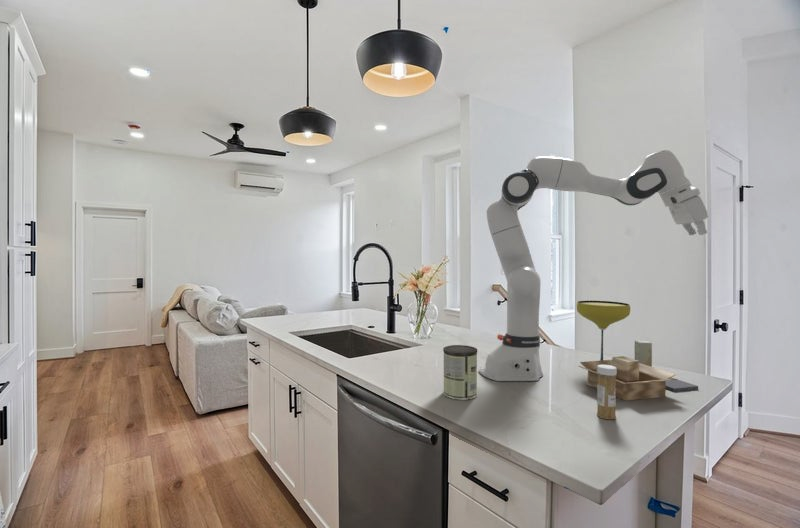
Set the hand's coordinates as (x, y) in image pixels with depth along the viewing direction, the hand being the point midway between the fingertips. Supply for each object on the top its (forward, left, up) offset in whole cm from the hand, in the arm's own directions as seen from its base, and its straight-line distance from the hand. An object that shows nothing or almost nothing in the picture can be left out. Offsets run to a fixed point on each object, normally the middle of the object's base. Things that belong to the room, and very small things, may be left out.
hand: (698, 234), depth 128 cm
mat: (-6, +3, -50) cm, 50 cm away
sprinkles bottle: (-47, -13, -50) cm, 70 cm away
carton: (-25, +3, -50) cm, 56 cm away
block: (-25, +3, -50) cm, 56 cm away
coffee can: (-78, +12, -50) cm, 93 cm away
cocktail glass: (-14, +25, -50) cm, 58 cm away
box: (-1, +19, -50) cm, 54 cm away
